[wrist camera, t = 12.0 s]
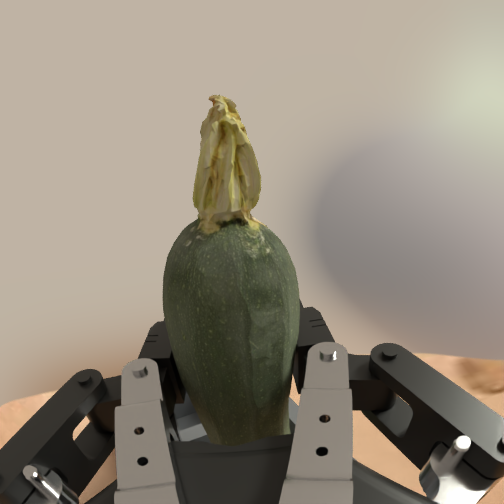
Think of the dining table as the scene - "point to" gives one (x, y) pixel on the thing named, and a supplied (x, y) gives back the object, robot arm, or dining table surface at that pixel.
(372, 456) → the dining table surface
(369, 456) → the dining table surface
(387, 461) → the dining table surface
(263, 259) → the vegetable
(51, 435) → the robot arm
